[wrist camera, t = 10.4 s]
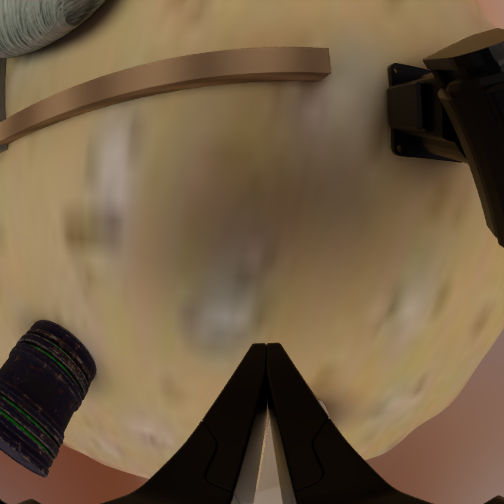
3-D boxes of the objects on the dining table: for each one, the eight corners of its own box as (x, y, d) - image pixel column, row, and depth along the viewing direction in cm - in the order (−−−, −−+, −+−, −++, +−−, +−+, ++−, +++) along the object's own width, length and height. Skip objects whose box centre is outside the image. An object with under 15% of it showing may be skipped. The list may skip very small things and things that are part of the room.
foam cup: (256, 388, 27) (252, 507, 15) (346, 384, 26) (371, 496, 14) (257, 432, 31) (254, 524, 19) (330, 428, 30) (343, 517, 18)
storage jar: (47, 370, 29) (0, 451, 15) (20, 312, 25) (-49, 397, 11) (107, 389, 29) (64, 489, 15) (83, 328, 25) (11, 443, 11)
